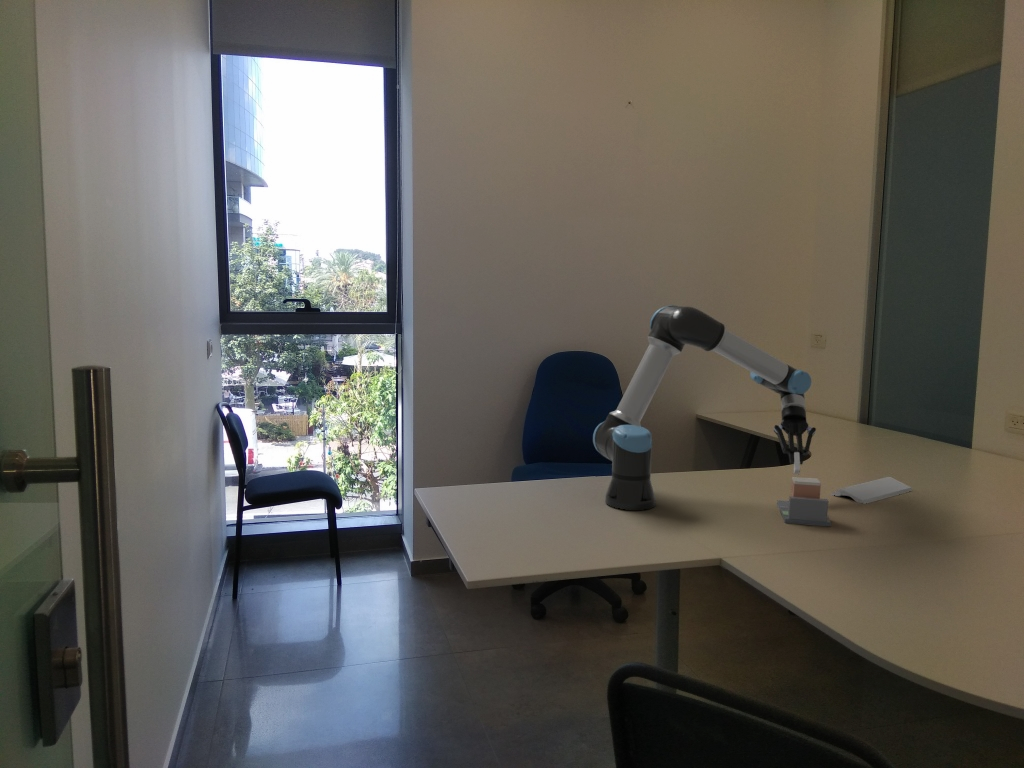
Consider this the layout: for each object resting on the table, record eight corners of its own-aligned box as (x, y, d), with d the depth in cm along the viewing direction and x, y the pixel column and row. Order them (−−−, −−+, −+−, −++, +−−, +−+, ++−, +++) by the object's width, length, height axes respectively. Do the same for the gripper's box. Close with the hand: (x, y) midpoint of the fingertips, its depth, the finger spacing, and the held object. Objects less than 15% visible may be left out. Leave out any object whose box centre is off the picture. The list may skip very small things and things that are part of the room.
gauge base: (785, 522, 204) (786, 498, 203) (776, 504, 222) (778, 481, 221) (830, 526, 201) (832, 501, 200) (818, 507, 219) (820, 484, 219)
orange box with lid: (792, 514, 207) (794, 481, 206) (790, 509, 212) (792, 476, 211) (818, 516, 206) (820, 482, 205) (815, 511, 211) (817, 478, 209)
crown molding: (864, 505, 224) (865, 494, 223) (828, 496, 234) (829, 485, 233) (912, 492, 240) (913, 481, 240) (876, 484, 250) (877, 474, 250)
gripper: (812, 419, 240) (817, 480, 226) (771, 416, 243) (773, 476, 229) (816, 405, 234) (821, 467, 220) (774, 403, 237) (776, 464, 223)
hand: (797, 472), depth 225 cm, fingers closed
